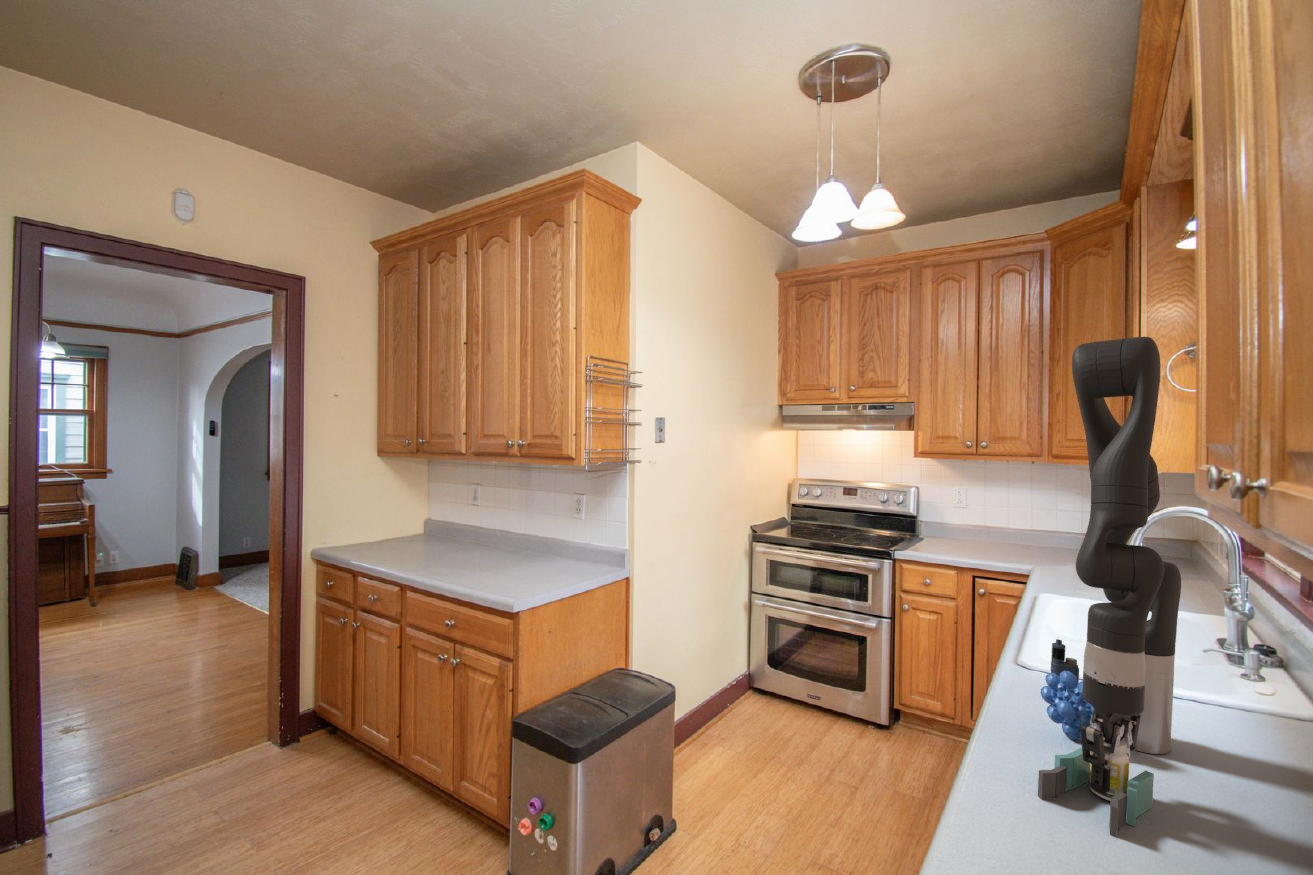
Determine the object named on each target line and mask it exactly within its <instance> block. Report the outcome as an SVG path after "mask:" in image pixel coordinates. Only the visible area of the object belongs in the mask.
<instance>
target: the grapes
mask: <svg viewBox="0 0 1313 875" xmlns="http://www.w3.org/2000/svg"><path fill="white" fill-rule="evenodd" d="M1044 680H1045V682H1046V685H1043V686H1042V687H1041V688H1040V695H1041V698H1042V699H1043V700H1044V701H1045V702H1046V704H1049V705H1048V706H1047V708H1046V714H1047V716H1048V718H1049V719H1050V720H1051V721H1052V722H1053V723H1055V724H1059V725H1060V724H1061V729H1062V732H1063V733H1064V735H1065V736H1066V737H1067V738H1068V739H1070V740H1072V741H1078V740H1079V739H1081V726H1082V724H1084V725H1087V726H1090V725H1091V724H1090V720H1091V716H1092V714H1093V711H1094V708H1093V707H1092V706H1091V705H1090V704H1089V703H1088V702H1086V701H1085V700H1084V698H1083V696H1082V689H1083V680H1081V681H1079V683H1078V680H1077V677H1076V676H1075V675H1074V674H1073V673H1071V672H1069V671H1062V672H1061V673H1060V677H1059V676H1058V675H1057V674H1055V673H1051V672H1049V673H1047V674H1046V675H1045V679H1044Z"/></svg>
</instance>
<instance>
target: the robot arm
mask: <svg viewBox="0 0 1313 875" xmlns="http://www.w3.org/2000/svg"><path fill="white" fill-rule="evenodd" d="M1071 372H1072V379H1073V385H1074V389H1075V394H1076V396H1077V398H1076V399H1077V404H1078V407H1079V411H1080V416H1081V419H1082V424H1083V428H1084V434H1085V441H1086V451H1087V458H1088V460H1087V461H1088V468H1089V469H1088V472H1089V477H1090V478H1089V479H1090V511H1089V512H1090V514H1089V520H1088V525H1087V529H1086V532H1085V535H1084V538H1083V541H1082V543H1081V545H1080V548H1079V551H1078V553H1077V556H1076V560H1075V570H1076V574H1077V576H1078V578H1079V580H1080V581H1082V583H1083V584H1085V585H1086V586H1088V587H1091V588H1094V589H1096V588H1097V589H1103V593H1104V595H1105V597H1106V599H1107V600H1108V601H1109V602H1097V603H1094V604H1091V605H1090V607H1089V608H1088V612H1087V630H1086V644H1085V647H1084V654H1083V667H1082V668H1083V671H1082V672H1083V673H1082V681H1083V689H1082V696H1083V698H1084V700H1085V701H1086V702H1088V703H1089V704H1090V705H1091V706H1092V707H1093V708H1094V711H1093V714H1092V716H1091V720H1090V724H1091V725H1090V726H1087V725H1084V724H1082V726H1081V737H1080V739H1081V748H1082V752H1083V760H1084V761H1086V762H1088V763H1091V764H1092V767H1091V786H1092V787H1093V788H1094V789H1096V790H1099V791H1101V792H1103V793H1107V792H1109V791H1110V771H1111V769H1110V767H1111V762H1112V757H1113V755H1116V754H1117V753H1118V748H1119V743H1120V741H1122V740H1124V741H1125V742H1126V744H1127V749H1126V750H1127V751H1126V755H1127V756H1128V758H1129V759H1130V757H1131V752H1133V753H1134V752H1135V751H1138V752H1142V753H1146V754H1152V755H1154V754H1155V755H1164V754H1165V755H1166V754H1168V753H1170V751H1171V744H1172V743H1171V742H1172V741H1171V740H1172V723H1173V722H1172V720H1173V705H1174V704H1173V700H1174V682H1175V660H1176V658H1175V657H1176V644H1177V643H1176V641H1177V631H1178V630H1177V627H1178V616H1179V608H1180V600H1181V594H1182V592H1181V590H1182V575H1181V572H1180V569H1179V567H1178V566H1177V565H1176V564H1175V563H1172V562H1168V561H1163V557H1161V556H1160V554H1159V553H1158V551H1156V550H1155V549H1153V548H1151V547H1149V546H1143V545H1135V544H1127V543H1128V542H1129V541H1130V539H1131V538H1132V536H1133V534H1134V533H1135V532H1136V531H1137V530H1138V529H1141V528H1143V527H1145V526H1146V525H1147V523H1148V518H1149V517H1150V516H1151V515H1152V513H1154V511H1155V509H1156V508H1157V507H1158V505H1159V503H1160V498H1161V491H1160V483H1159V482H1160V481H1159V475H1158V474H1159V473H1158V472H1159V471H1158V466H1157V463H1156V461H1155V459H1154V458H1153V456H1152V455H1151V449H1152V442H1153V436H1154V431H1155V425H1156V424H1155V423H1156V417H1157V409H1158V400H1159V394H1160V392H1159V391H1160V386H1161V385H1160V383H1161V357H1160V352H1159V347H1158V345H1157V343H1156V342H1155V340H1154V339H1153V338H1151V337H1150V336H1134V337H1133V336H1132V337H1125V338H1117V339H1115V338H1114V339H1107V340H1100V341H1098V340H1097V341H1091V342H1090V341H1089V342H1084V343H1081V344H1079V345H1077V346H1076V347H1075V349H1074V350H1073V352H1072V356H1071ZM1117 397H1118V398H1122V397H1131V405H1130V408H1129V411H1128V414H1127V417H1126V419H1125V421H1124V422H1123V424H1122V425H1121V424H1120V423H1119V422H1118V421H1117V420H1116V418H1115V417H1114V415H1113V414H1112V412H1111V410H1110V408H1109V406H1108V404H1107V402H1106V400H1105V399H1106V398H1117ZM1149 613H1151V614H1150V615H1151V617H1150V619H1148V617H1149ZM1104 742H1106V743H1108V744H1111V746H1110V747H1108V746H1105V745H1104ZM1104 751H1105V752H1106V755H1105V753H1104Z"/></svg>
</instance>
